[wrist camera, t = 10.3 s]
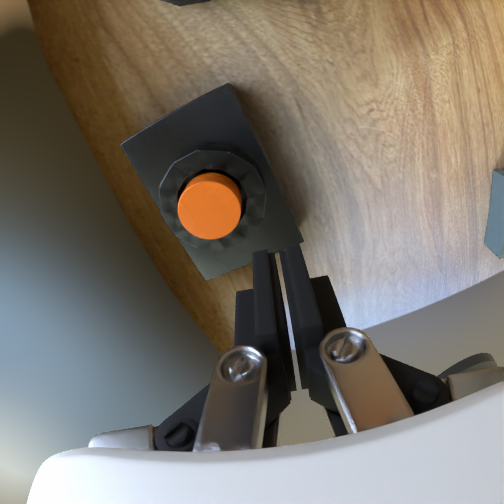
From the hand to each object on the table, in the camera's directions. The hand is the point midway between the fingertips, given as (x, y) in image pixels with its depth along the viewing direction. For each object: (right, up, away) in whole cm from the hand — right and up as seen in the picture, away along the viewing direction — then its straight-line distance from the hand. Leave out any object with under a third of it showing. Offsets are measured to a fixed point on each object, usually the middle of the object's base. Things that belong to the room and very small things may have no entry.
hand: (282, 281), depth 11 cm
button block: (-4, +6, +10) cm, 13 cm away
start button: (-4, +4, +7) cm, 9 cm away
